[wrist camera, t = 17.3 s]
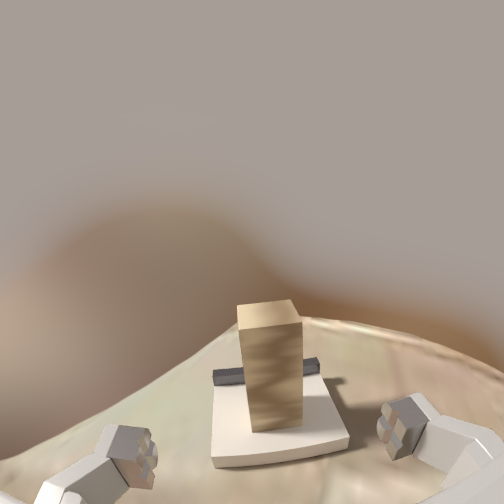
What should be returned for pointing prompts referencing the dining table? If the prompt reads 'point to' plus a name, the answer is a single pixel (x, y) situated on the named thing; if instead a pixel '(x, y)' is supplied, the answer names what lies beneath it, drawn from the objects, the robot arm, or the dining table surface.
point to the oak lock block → (272, 364)
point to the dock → (275, 441)
